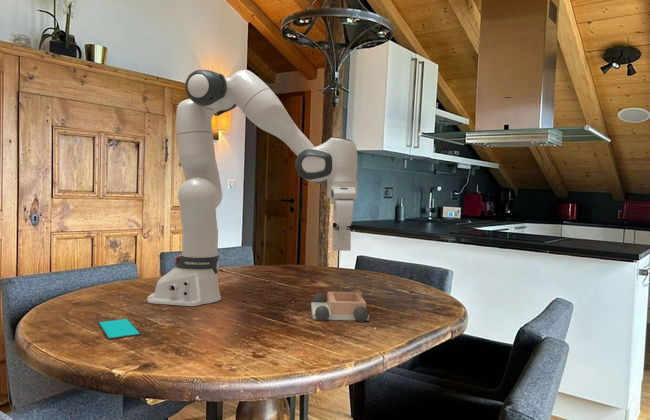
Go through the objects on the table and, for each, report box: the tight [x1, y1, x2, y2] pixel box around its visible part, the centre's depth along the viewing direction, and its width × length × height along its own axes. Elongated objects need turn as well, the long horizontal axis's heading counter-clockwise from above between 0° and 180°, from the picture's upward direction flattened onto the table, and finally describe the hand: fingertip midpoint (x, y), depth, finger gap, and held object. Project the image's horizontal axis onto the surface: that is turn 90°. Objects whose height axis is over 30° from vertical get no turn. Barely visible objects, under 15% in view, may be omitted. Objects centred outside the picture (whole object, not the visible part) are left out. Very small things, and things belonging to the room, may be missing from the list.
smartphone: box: [97, 318, 142, 341], centre depth 115 cm, size 7×1×15 cm
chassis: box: [310, 291, 370, 323], centre depth 139 cm, size 16×17×5 cm
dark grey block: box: [331, 226, 352, 252], centre depth 138 cm, size 5×4×6 cm
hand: (341, 239), depth 138 cm, fingers closed on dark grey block, 4 cm apart
